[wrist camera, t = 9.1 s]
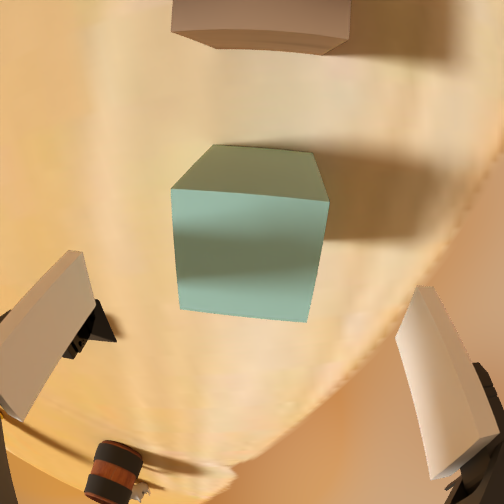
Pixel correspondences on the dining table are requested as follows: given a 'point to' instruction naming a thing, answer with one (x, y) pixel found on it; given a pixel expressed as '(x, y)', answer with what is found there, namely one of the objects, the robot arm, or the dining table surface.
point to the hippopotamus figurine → (139, 491)
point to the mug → (113, 473)
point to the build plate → (91, 332)
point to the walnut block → (264, 24)
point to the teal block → (249, 232)
